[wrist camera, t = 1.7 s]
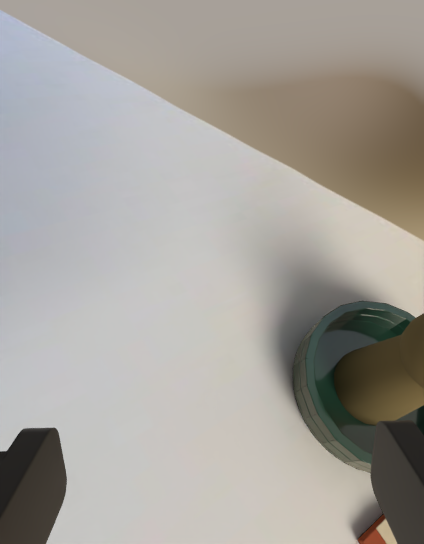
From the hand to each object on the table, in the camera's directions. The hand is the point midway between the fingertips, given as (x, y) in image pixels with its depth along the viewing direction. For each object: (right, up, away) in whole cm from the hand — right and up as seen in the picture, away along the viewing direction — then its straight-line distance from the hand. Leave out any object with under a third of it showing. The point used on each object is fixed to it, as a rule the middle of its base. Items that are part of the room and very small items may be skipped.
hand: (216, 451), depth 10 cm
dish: (+13, -5, +22) cm, 25 cm away
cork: (+13, -5, +21) cm, 25 cm away
